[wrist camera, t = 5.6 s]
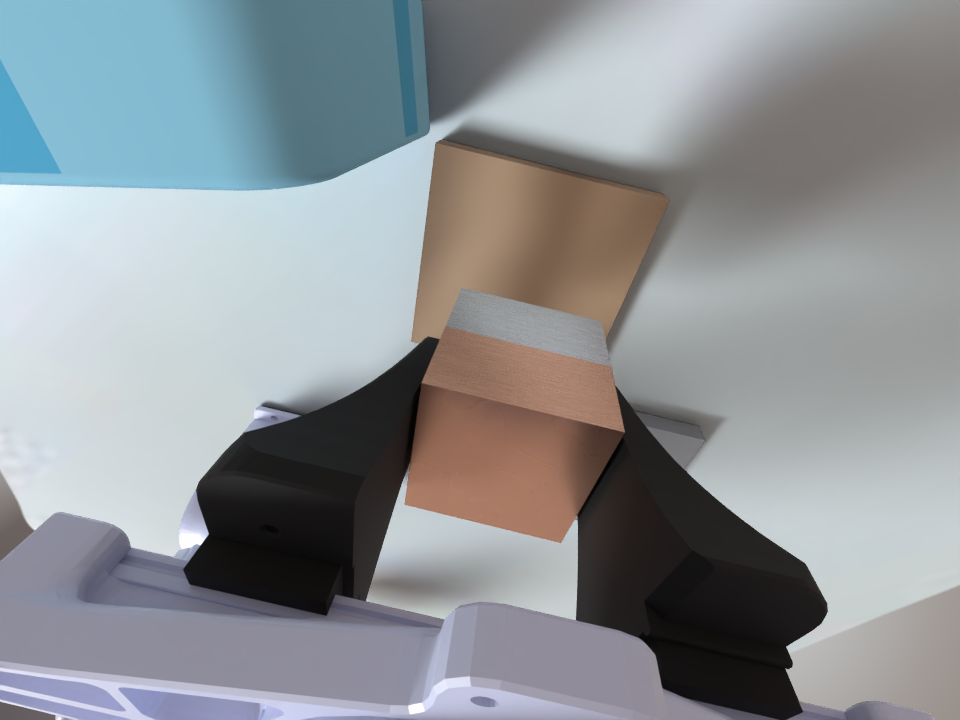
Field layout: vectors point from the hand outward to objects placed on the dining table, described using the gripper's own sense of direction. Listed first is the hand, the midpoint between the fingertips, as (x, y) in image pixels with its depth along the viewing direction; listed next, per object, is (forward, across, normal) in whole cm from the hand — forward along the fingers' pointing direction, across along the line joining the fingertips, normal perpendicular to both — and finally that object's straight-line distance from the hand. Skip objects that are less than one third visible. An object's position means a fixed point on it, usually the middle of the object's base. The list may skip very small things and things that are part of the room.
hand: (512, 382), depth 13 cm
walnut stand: (+9, 0, 0) cm, 9 cm away
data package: (+10, +12, -6) cm, 16 cm away
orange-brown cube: (+2, 0, 0) cm, 2 cm away
